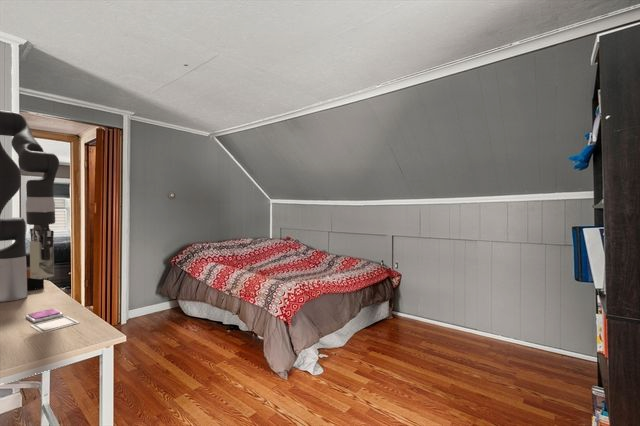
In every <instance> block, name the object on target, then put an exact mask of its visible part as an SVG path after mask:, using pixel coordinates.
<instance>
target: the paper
mask: <svg viewBox="0 0 640 426" xmlns="http://www.w3.org/2000/svg"><path fill="white" fill-rule="evenodd" d="M77 324H80V321H78V320H76V319H73V318H72V317H71V316H70V317H69V315H65V316H61V317H58V318H54V319H50V320H46V321H42V322H38V323H33V324H31V325H30V327H31V328H32V329H34V330H35V331H38V332H39V333H40V334H46V333H50V332H53V331H55V330H56V331H57V330H60V329H64V328H66V327H70V326H74V325H77Z"/></svg>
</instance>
